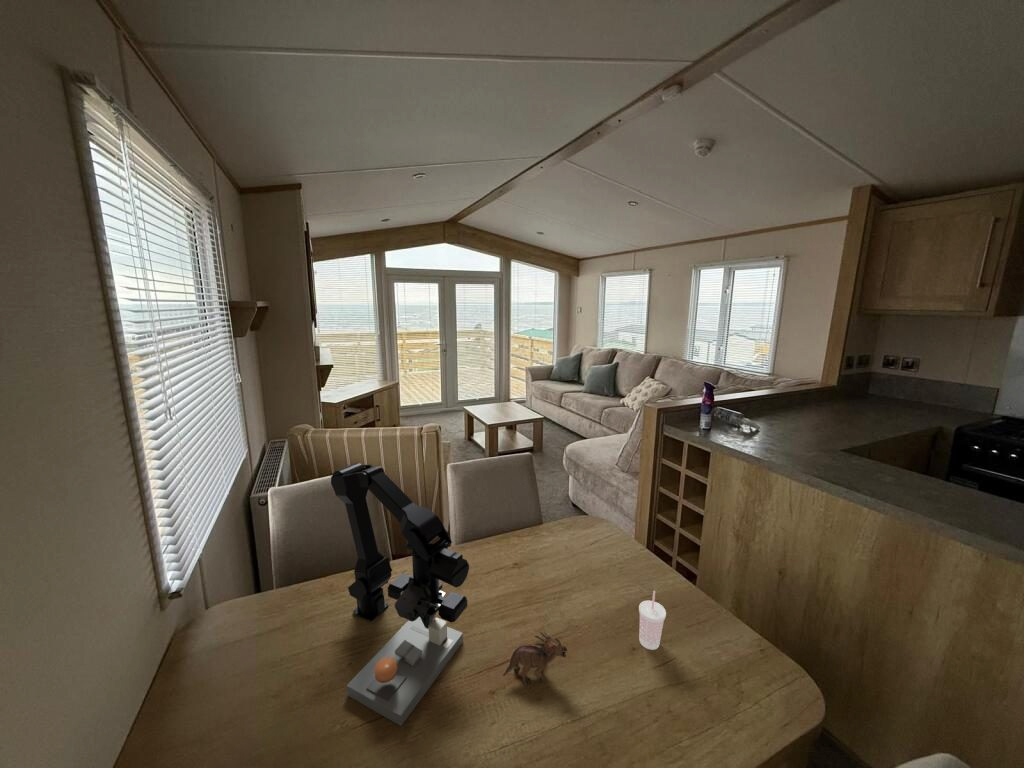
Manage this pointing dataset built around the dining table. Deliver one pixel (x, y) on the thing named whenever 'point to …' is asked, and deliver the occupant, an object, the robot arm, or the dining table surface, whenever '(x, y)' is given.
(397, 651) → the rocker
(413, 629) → the switch console
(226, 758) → the dining table surface
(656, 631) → the beverage cup
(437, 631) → the off-white cube
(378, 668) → the push button
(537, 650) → the dinosaur figurine
